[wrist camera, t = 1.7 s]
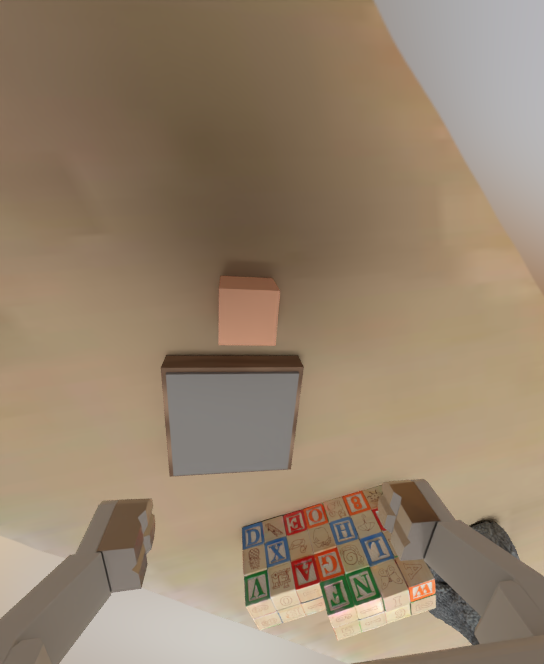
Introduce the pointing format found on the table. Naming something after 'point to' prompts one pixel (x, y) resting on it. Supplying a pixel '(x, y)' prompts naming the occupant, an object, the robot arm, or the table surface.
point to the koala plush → (451, 602)
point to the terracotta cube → (248, 311)
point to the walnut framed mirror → (230, 412)
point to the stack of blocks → (332, 568)
